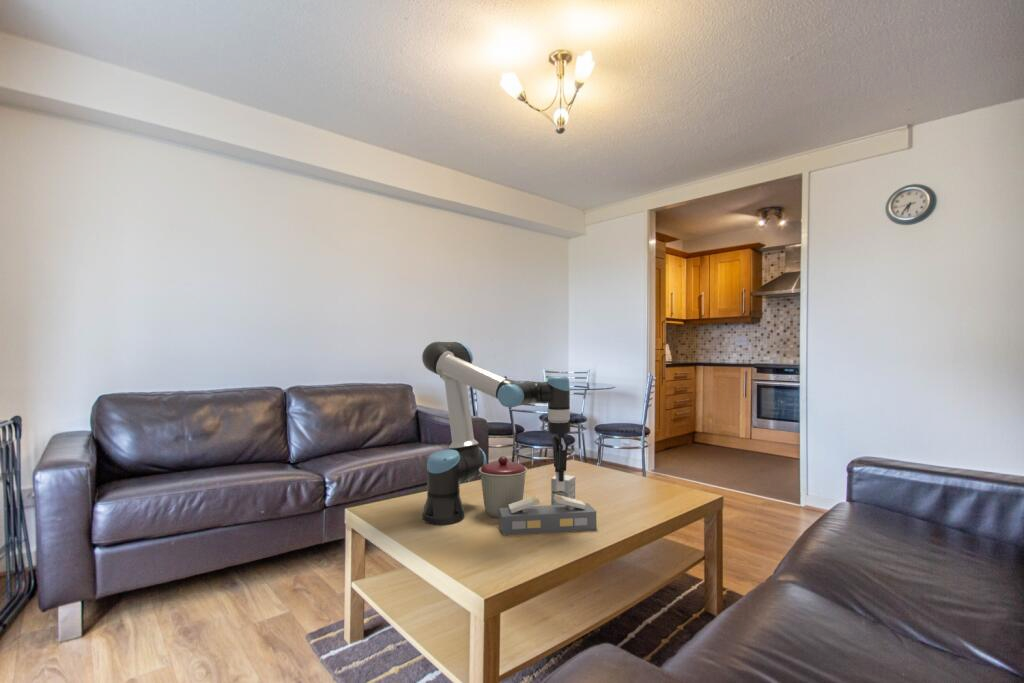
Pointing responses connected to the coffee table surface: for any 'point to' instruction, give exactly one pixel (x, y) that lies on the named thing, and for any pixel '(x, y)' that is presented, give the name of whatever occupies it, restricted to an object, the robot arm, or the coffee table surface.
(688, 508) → the coffee table surface
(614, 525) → the coffee table surface
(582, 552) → the coffee table surface
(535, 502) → the rocker
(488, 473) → the canister
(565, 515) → the console
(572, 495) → the supplement box
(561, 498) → the bar
